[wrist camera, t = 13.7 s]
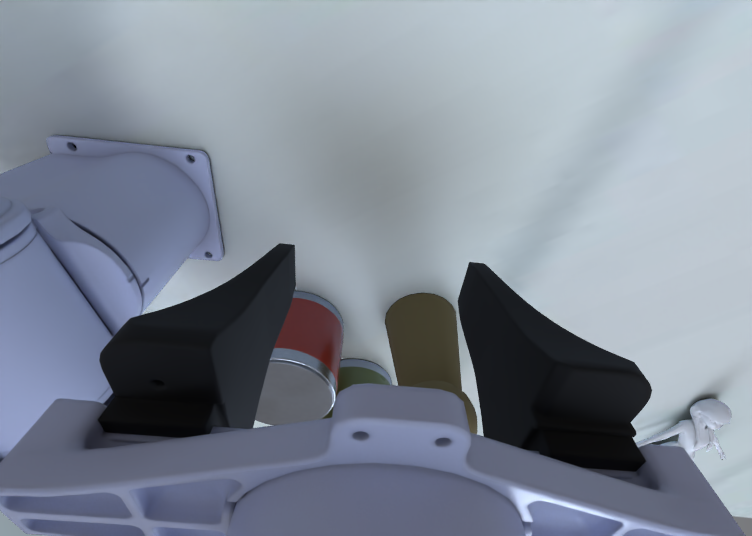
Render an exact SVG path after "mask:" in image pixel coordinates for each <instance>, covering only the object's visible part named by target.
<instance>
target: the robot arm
mask: <svg viewBox="0 0 752 536" xmlns="http://www.w3.org/2000/svg"><path fill="white" fill-rule="evenodd" d="M46 142H47V146H48V148H49V151H50V153H51V154H50V155H47V156H45V157H42V158H40V159H37V160H35V161H32V162H29V163H27V164H24V165H22V166H19V167H17V168H14V169H12V170H9V171H7V172H4V173H2V174H0V511H1V512H2V513H3V514H4V515H5V516H7V517H8V518H9V519H10V520H11V521H12V522H13V523H14V524H15V525H17V526H18V527H19V528H20V529H21V530H22V531H23V532H24V533H26V534H36V535H48V536H746V535H745V534H744V532H743V531H742V530H741V528H740V527H739V526H738V524H737V523H736V521H735V520H734V518H733V517H732V515H731V514H730V513H729V511H728V510H727V508H726V507H725V506H724V504H723V503H722V501H721V500H720V498H719V497H718V496H717V494H716V493H715V491H714V490H713V489H712V487H711V486H710V484H709V483H708V482H707V480H706V479H705V477H704V476H703V474H702V473H701V472H700V470H699V469H698V467H697V466H696V465H695V463H694V462H693V460H692V459H691V457H690V456H689V455H688V453H687V452H686V450H685V449H684V448H682V447H678V446H666V445H653V444H649V445H643V446H640V447H637V445H636V443H635V442H634V440H633V438H632V437H634V436H635V435H636V431H635V429H634V428H633V426H632V424H631V423H630V422H631V421H632V420H633V419H634V418H635V417H636V416H637V414H638V413H639V412H640V411H641V410H642V409H643V408H644V406H645V405H646V404H647V402H648V400H649V399H650V396H651V392H652V389H651V386H650V383H649V382H648V380H647V379H646V378H645V376H644V375H643V374H642V372H641V371H640V370H639V368H638V367H637V366H636V364H635V363H634V362H632V361H630V360H628V359H625V358H623V357H620V356H618V355H615V354H613V353H611V352H608V351H606V350H604V349H602V348H599V347H597V346H595V345H593V344H591V343H589V342H587V341H585V340H583V339H581V338H580V337H578V336H576V335H574V334H572V333H571V332H569V331H567V330H566V329H564V328H562V327H560V326H559V325H557V324H556V323H554V322H553V321H551V320H550V319H548V318H547V317H545V316H544V315H543V314H541V313H540V312H538V311H537V310H536V309H534V308H533V307H532V306H531V305H529V304H528V303H527V302H526V301H525V300H523V299H522V298H521V297H520V296H519V295H518V294H516V293H515V292H514V291H513V290H512V289H511V288H510V287H509V286H508V285H507V284H506V283H504V282H503V281H502V280H501V279H500V278H499V277H498V276H497V275H496V274H495V273H494V272H493V271H492V270H491V269H490V268H489V267H487V266H486V265H485V264H483V263H473V262H469V265H468V269H467V272H466V275H465V279H464V282H463V285H462V288H461V292H460V295H459V298H458V306H459V314H460V321H461V325H462V329H463V332H464V336H465V339H466V343H467V346H468V350H469V353H470V357H471V360H472V364H473V368H474V372H475V377H476V383H477V389H478V395H479V402H480V409H481V416H482V425H483V434H484V437H483V436H480V435H477V434H474V433H471V432H470V429H469V424H468V420H467V415H466V410H465V406H464V402H463V401H462V400H461V399H460V398H459V397H458V396H457V395H456V394H454V393H451V392H448V391H444V390H440V389H431V388H419V387H407V386H395V385H383V384H371V383H366V384H354V385H352V386H350V387H348V388H346V389H344V390H342V391H340V392H339V393H338V395H337V397H336V399H335V401H334V407H333V415H332V418H327V419H319V420H312V421H304V422H297V423H289V424H282V425H274V426H267V427H259V428H253V425H254V421H255V417H256V413H257V408H258V404H259V400H260V396H261V392H262V388H263V384H264V380H265V376H266V373H267V369H268V365H269V362H270V358H271V355H272V352H273V349H274V347H275V344H276V342H277V339H278V337H279V334H280V332H281V329H282V327H283V324H284V322H285V319H286V316H287V314H288V311H289V309H290V306H291V302H292V299H293V294H294V290H295V286H296V280H295V245H291V244H281V243H279V244H278V245H277V246H275V247H274V248H273V249H272V250H270V251H269V252H268V253H267V254H266V255H264V256H263V257H262V258H261V259H259V260H258V261H257V262H255V263H254V264H253V265H252V266H250V267H249V268H247V269H246V270H244V271H243V272H242V273H240V274H239V275H237V276H236V277H234V278H233V279H231V280H229V281H228V282H226V283H224V284H222V285H220V286H219V287H217V288H215V289H213V290H211V291H209V292H206V293H204V294H202V295H200V296H197V297H195V298H193V299H191V300H188V301H185V302H183V303H180V304H177V305H174V306H171V307H168V308H165V309H162V310H159V311H155V312H151V313H148V314H144V315H141V314H142V313H143V312H144V311H145V309H146V308H147V307H148V306H149V304H150V303H151V302H152V301H153V300H154V298H155V297H156V296H157V295H158V293H159V292H160V291H161V290H162V289H163V287H164V286H165V285H166V284H167V282H168V281H169V280H170V279H171V278H172V276H173V275H174V274H175V273H176V271H177V270H178V269H179V268H180V267H181V265H182V264H183V263H184V262H185V260H186V259H187V258H190V259H201V260H213V261H220V260H221V259H222V258H223V256H224V250H223V243H222V237H221V231H220V225H219V218H218V212H217V206H216V199H215V193H214V187H213V180H212V174H211V168H210V162H209V157H208V155H207V154H206V153H205V152H203V151H201V150H193V149H183V148H174V147H164V146H155V145H145V144H136V143H126V142H117V141H107V140H98V139H88V138H79V137H69V136H60V135H53V136H50V137H48V138H47V140H46ZM72 143H73V144H75V145H76V147H77V149H76V148H74V147H73V145H72ZM189 155H192V156H193V157H194V159H195V161H191V160H190V158H189ZM207 252H210V253H211V254H212V255H209V254H208V253H207Z"/></svg>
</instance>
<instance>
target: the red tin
mask: <svg viewBox="0 0 752 536" xmlns="http://www.w3.org/2000/svg"><path fill="white" fill-rule="evenodd" d="M343 329H344V326H343V321H342V318H341V316H340V314H339V312H338V311H337V309H336V308H335V307H334V306H333V305H332V304H331V303H329V302H328V301H326V300H325V299H323V298H321V297H319V296H317V295H314V294H311V293H307V292H300V291H294V294H293V299H292V302H291V306H290V309H289V311H288V314H287V316H286V319H285V322H284V324H283V327H282V329H281V332H280V334H279V337H278V339H277V342H276V344H275V347H274V349H273V352H272V355H271V358H270V362H269V365H268V369H267V373H266V376H265V380H264V384H263V388H262V392H261V396H260V400H259V404H258V408H257V413H256V417H255V420H257V421H259V422H262V423H266V424H269V425H282V424H289V423H297V422H304V421H312V420H319V419H321V418H323V417H324V416H325V415H326V414H327V413H328V412H329V411H330V410H331V409H332V407H333V405H334V401H335V399H336V392H337V388H338V379H339V370H340V361H341V353H342V344H343Z"/></svg>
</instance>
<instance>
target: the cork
mask: <svg viewBox="0 0 752 536" xmlns="http://www.w3.org/2000/svg"><path fill="white" fill-rule="evenodd" d="M385 325H386V329H387V334H388V339H389V344H390V348H391V353H392V358H393V363H394V367H395V372H396V377H397V381H398V386H407V387H419V388H431V389H440V390H444V391H448V392H451V393H454V394H456V395H457V396H458V397H459V398H460V399H461V400H462V401H463V402H464V406H465V410H466V415H467V420H468V424H469V429H470V432H471V433H474V434H477V416H476V412H475V408H474V407H473V405H472V403H471V401H470V400H469V398H468V397H467V395H466V394H465V393H464V392H462V387H461V374H460V361H459V347H458V334H457V321H456V312H455V310H454V308H453V306H452V304H450V303H449V302H448V301H447V300H446V299H444V298H442V297H440V296H437V295H435V294H427V293H418V294H411V295H408V296H406V297H403V298H401V299H399V300H398V301H397V302H395V303H394V304H393V305H392V306H391V307H390V309H389V310H388V312H387V313H386V319H385Z"/></svg>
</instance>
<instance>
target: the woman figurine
mask: <svg viewBox="0 0 752 536" xmlns="http://www.w3.org/2000/svg"><path fill="white" fill-rule="evenodd" d="M690 413H691V416H692V419H693V420H683V421H679V424H677V425H675V426H674V427H672V428H670V429H668V430H666V431H664V432H661V433H659V434H656V435H653V436H652V437H650V438H647V439H645V440H642V441H639V442H637V443H636V445H637V447H640V446H643V445H646V444H649V443H652V442H656V441H660V440H664V439H667V438H669V437H671V436H673V435H676V434H679V439H678V441H671V442H667V443H663V444H660V445H666V446H678V447H682V448H684V449H685V450H686V452H687V453H688V455H689V456H690V457H691V459H692V460H694V457H695V451H697V450H700V449H702V448H703V447H705V446H707V445H709V444H710V445H709V446H708V447H707V451H709V450H711V449H712V444H714V445H715V447H716V448H717V450H718V452H719V453H718V454H720V457H721V459H722V460H723V457H724V458H725V459H726V457H725V454H724V452H723V451H722V449H721V447H720V444H719V441H718V439H717V437H716V435H715V434H714V430H718V429H720V428H721V427H722V426H723V425H724V424H730V420H731V417H732V414H731V410H730V408H729V407H728V406H727V405H726V404H725V403H723V402H721V401H718V400H715V399H705V400H700V401H698V402H696V403H695V404H694V405H693V406H692V407H691V408H690ZM710 441H711V443H710ZM707 451H706V452H707Z"/></svg>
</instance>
